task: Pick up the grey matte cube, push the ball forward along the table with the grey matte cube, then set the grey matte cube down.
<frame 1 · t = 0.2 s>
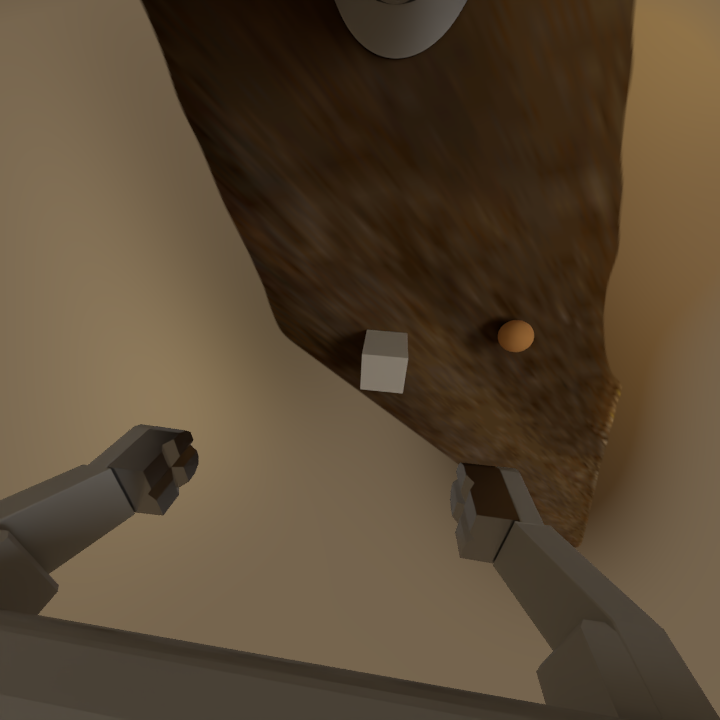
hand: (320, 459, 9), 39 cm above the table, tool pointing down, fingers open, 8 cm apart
grey matte cube: (385, 348, 52), on the table
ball: (515, 336, 45), on the table
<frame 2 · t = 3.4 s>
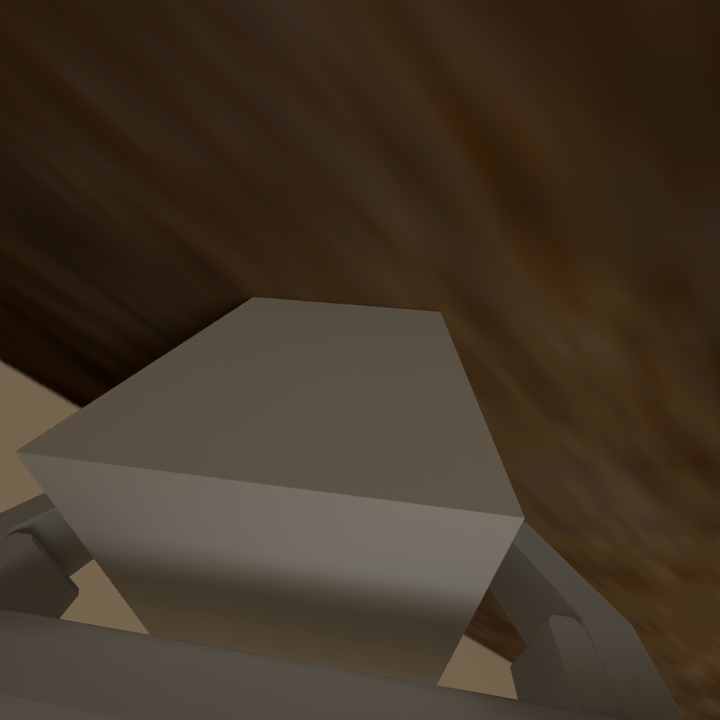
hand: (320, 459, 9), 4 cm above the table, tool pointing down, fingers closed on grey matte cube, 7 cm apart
grey matte cube: (342, 383, 12), on the table, touching gripper
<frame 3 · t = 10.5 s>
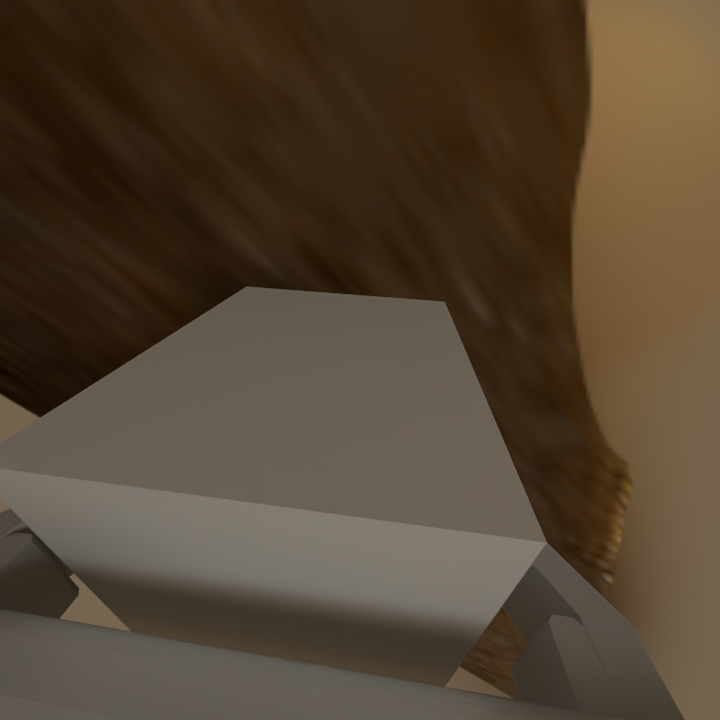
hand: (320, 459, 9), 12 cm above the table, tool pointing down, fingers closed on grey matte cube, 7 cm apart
grey matte cube: (341, 376, 12), point 8 cm above the table, touching gripper
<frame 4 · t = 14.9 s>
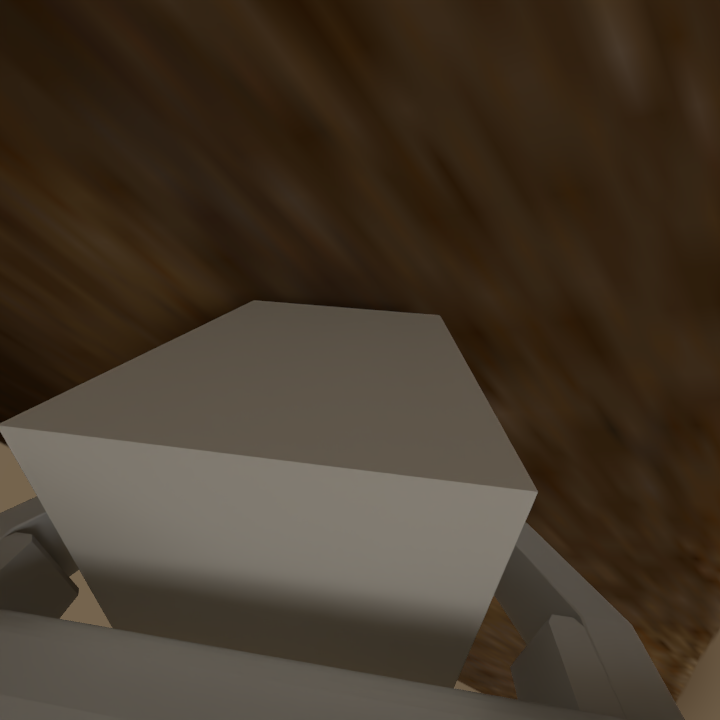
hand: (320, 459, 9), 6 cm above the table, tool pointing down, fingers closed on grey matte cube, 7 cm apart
grey matte cube: (341, 389, 12), point 2 cm above the table, touching gripper
when the fingers open (5 cm above the table, at t = 15.8 s): grey matte cube stays where it is, on the table.
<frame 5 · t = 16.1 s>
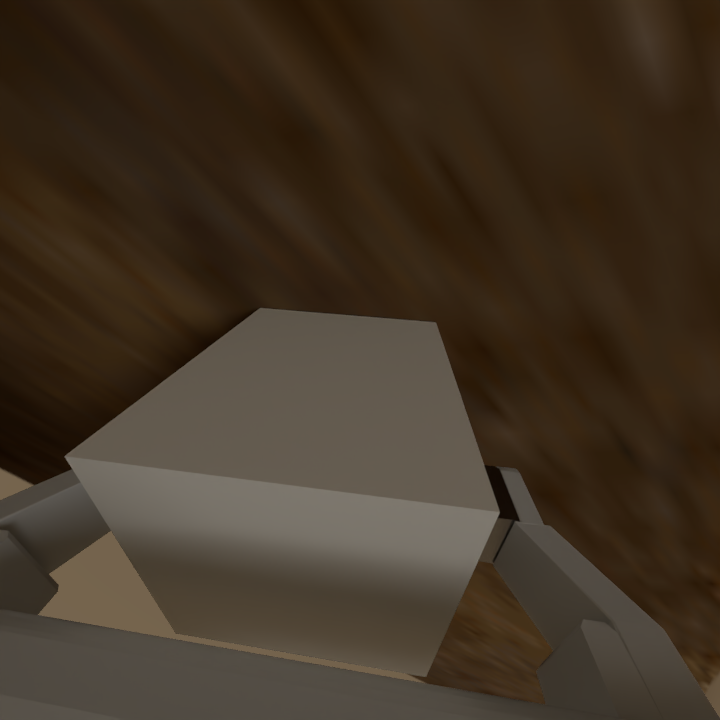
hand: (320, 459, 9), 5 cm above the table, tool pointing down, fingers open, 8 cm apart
grey matte cube: (344, 388, 13), on the table
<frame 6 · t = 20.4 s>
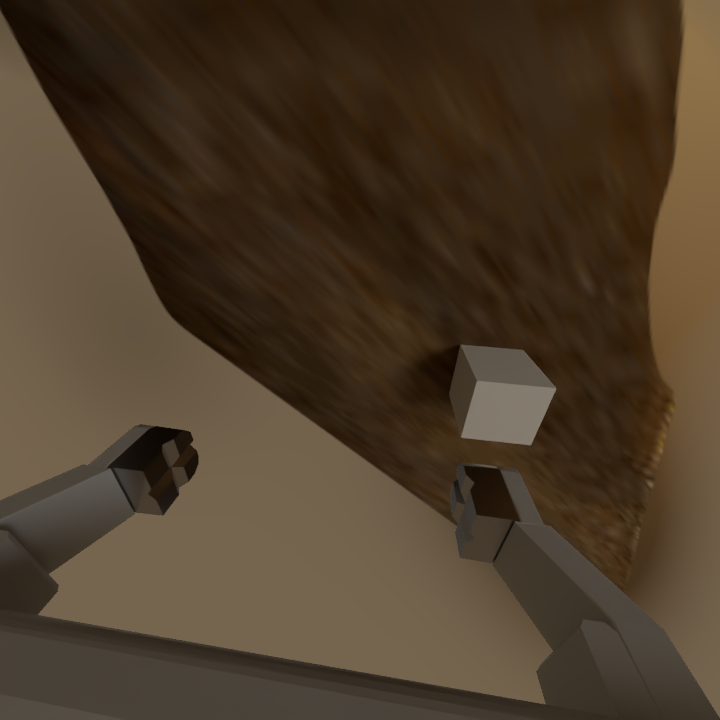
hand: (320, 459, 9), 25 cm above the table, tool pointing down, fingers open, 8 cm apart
grey matte cube: (483, 373, 35), on the table
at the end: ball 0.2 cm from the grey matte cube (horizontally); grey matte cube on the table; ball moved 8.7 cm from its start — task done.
